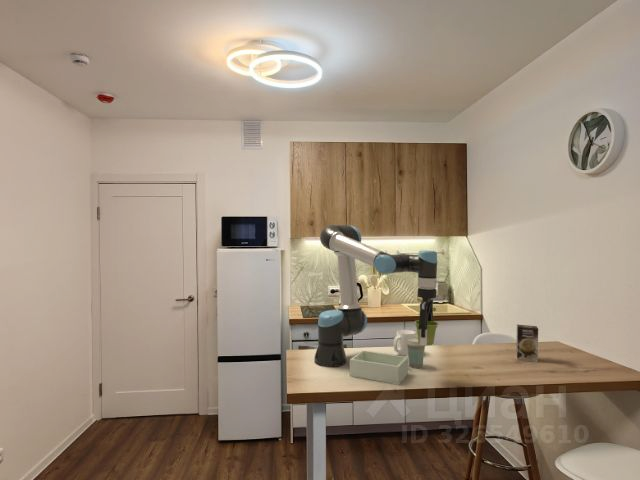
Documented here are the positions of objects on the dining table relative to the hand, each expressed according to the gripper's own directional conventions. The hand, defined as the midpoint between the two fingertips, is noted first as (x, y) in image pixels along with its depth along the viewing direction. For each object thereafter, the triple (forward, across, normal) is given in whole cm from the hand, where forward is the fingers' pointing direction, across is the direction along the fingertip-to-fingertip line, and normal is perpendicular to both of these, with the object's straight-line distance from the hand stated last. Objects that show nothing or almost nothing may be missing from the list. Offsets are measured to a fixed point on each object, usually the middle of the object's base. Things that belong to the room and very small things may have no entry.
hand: (425, 342), depth 166 cm
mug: (+16, +33, +17) cm, 40 cm away
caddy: (+15, -4, +18) cm, 24 cm away
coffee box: (+15, +51, -38) cm, 65 cm away
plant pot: (+1, 0, 0) cm, 1 cm away
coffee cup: (+16, +15, +7) cm, 23 cm away
